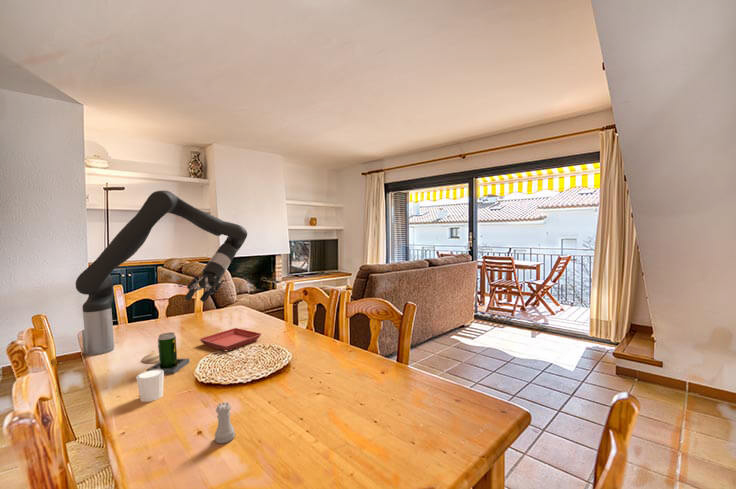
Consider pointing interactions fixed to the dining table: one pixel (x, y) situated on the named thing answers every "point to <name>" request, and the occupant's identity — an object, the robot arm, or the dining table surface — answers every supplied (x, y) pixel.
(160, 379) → the white tapered cylinder
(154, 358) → the coaster
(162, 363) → the beer can
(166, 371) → the collar
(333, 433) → the dining table surface
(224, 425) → the rook chess piece
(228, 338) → the plant saucer
